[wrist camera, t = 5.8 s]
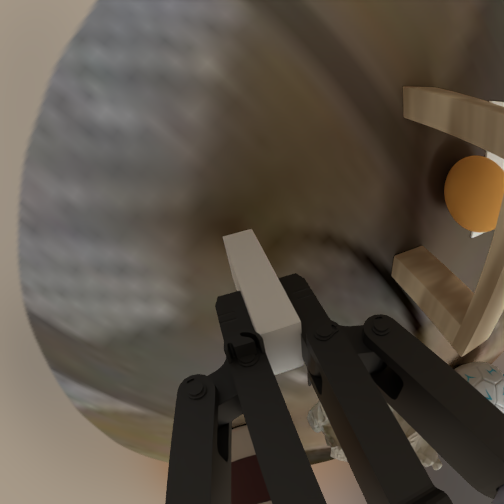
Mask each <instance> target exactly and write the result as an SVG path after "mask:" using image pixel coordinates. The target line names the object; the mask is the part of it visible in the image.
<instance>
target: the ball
mask: <svg viewBox="0 0 504 504" xmlns="http://www.w3.org/2000/svg"><path fill="white" fill-rule="evenodd" d="M503 194H504V171H503V170H502V168H501V167H500V166H499V165H498V164H497V163H495V162H494V161H493V160H491V159H489V158H486V157H483V156H468V157H465V158H463V159H461V160H459V161H458V162H457V163H456V164H455V165H454V166H453V167H452V168H451V170H450V171H449V173H448V175H447V178H446V181H445V187H444V195H445V201H446V205H447V208H448V210H449V212H450V214H451V216H452V217H453V218H454V220H455V221H456V222H457V223H458V224H459V225H461V226H462V227H464V228H465V229H467V230H470V231H473V232H479V233H480V232H488V231H491V230H493V229H495V228H496V224H497V220H498V216H499V212H500V208H501V203H502V199H503Z"/></svg>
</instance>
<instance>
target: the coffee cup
mask: <svg viewBox="0 0 504 504" xmlns="http://www.w3.org/2000/svg"><path fill="white" fill-rule="evenodd" d="M231 504H272V501H271V498H270V496H269V493H268V490H267V487H266V484H265V481H264V478H263V475H262V472H261V469H260V466H259V462H258V459H257V456H256V453H255V450H254V447H253V444H252V440H251V437H250V434H249V431H248V427H247V425H244V426H240V427H237V428H234V429H232V446H231Z"/></svg>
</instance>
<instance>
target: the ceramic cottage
mask: <svg viewBox="0 0 504 504" xmlns="http://www.w3.org/2000/svg"><path fill="white" fill-rule="evenodd" d="M387 404H388V403H387ZM388 406H389V407H390V409H391V411H392V412H393V414H394V416H395V417H396V419H397V421H398V423H399V424H400V426H401V428H402V430H403V431H404V433H405V435H406V437H407V438H408V440H409V442H410V444H411V445H412V447H413V449H414V451H415V452H416V454H417V456H418V458H419V460H420V461H421V463H422V465H424V466H426V467H428V466H430V465H432V466H433V469H435V470H438V469H440V468H441V467H442V463H441V461H440V460H439V458H438V455H437V452H436V451H435V450H434V449H433V448H432V447H431V446H430V445H429V444H428V443H427V442H426V441H425V440H424V439H423V438H422V437H421V436H420V435H419V434H418V433H417V432H416V431H415V430H414V429H413V428H412V427H411V426H410V425H409V424H408V423H407V422H406V421H405V420H404V419H403V418H402V417H401V416H400V415H399V414H398V413H397V412H396V411H395V410H394V409H393V408H392V407H391V406H390V405H389V404H388ZM307 419H308V422H309V424H310V426H311V427H312V429H313V430H314V431H315V432H317V433H318V432H320V431H322V432H323V434H324V435H325V439H326V443H327V445H328V446H331V457H333V458H335V459H338V460H342V461H347V459H346V456H345V454H344V452H343V450H342V448H341V446H340V443H339V441H338V439H337V437H336V435H335V433H334V431H333V428H332V426H331V424H330V422H329V420H328V418H327V416H326V413H325V411H324V409H323V407H322V405H321V403H320V401H319V402H318V403H317V404H316V405H315V406H314V407H313V408H312V409H311V410H310V411H309V413H308V417H307ZM347 462H348V461H347Z"/></svg>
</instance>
